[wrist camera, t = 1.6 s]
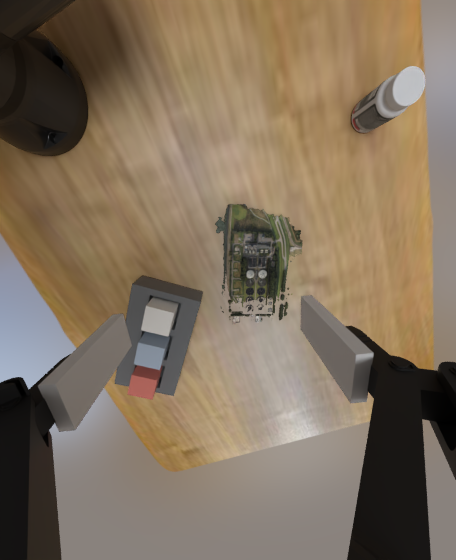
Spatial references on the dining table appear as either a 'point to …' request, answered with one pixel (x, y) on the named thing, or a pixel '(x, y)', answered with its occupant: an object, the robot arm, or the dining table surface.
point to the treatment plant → (256, 255)
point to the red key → (144, 382)
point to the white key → (159, 316)
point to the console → (178, 335)
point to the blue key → (151, 350)
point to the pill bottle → (388, 99)
